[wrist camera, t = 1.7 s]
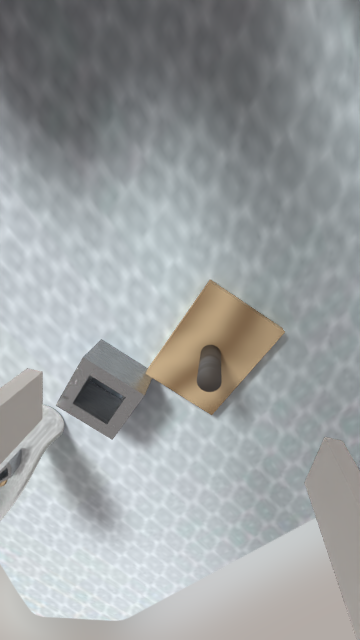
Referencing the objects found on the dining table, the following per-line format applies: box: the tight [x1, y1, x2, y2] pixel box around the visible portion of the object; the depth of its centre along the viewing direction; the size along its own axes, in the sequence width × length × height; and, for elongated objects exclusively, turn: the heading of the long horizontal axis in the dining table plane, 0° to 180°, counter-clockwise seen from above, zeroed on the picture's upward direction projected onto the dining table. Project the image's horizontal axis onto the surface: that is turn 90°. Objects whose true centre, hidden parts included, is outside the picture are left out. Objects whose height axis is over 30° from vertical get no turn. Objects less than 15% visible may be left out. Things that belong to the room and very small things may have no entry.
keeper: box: [146, 280, 285, 415], centre depth 30 cm, size 10×14×7 cm
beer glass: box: [0, 405, 64, 521], centre depth 34 cm, size 7×7×15 cm
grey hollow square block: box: [56, 339, 152, 440], centre depth 34 cm, size 8×8×5 cm
